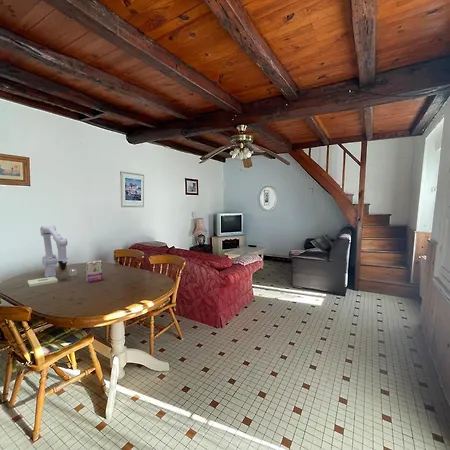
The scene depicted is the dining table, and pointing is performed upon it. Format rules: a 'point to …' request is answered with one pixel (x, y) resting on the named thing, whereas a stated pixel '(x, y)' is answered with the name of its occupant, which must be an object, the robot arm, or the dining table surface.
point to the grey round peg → (72, 272)
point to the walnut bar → (62, 270)
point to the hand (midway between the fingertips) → (62, 269)
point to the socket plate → (42, 281)
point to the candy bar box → (94, 271)
